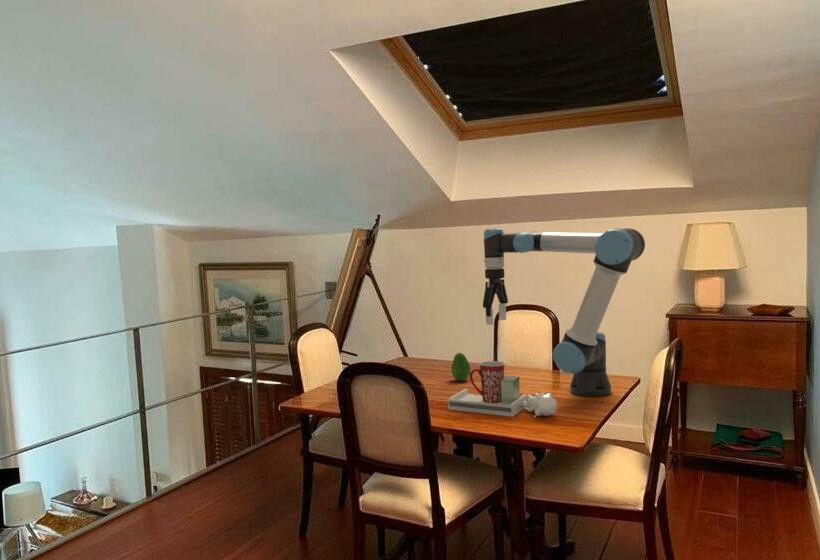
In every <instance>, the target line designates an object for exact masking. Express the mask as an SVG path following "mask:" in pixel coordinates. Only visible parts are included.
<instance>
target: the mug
mask: <svg viewBox="0 0 820 560" xmlns="http://www.w3.org/2000/svg"><path fill="white" fill-rule="evenodd" d="M505 365H506V363H505V362H503V361H495V360H491V361H489V360H488V361H481V362H479V368H480V369H478V368H474V369H470V374H469V381H470V382H471V384H472V386H473V388H474V389H475V390H476V391H477V392H478V394H479V395H482V396H483V401H484V402H487V403H500V402H502V394H501V379H503V378H504V377H505ZM475 372H476V373H477V372H478V375H479V376H480V381H481V382H480V383H481V390H480V388H478V386H477V385H476V384H475V382H474V379H473V374H474V373H475Z"/></svg>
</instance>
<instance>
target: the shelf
mask: <svg viewBox="0 0 820 560" xmlns="http://www.w3.org/2000/svg"><path fill="white" fill-rule="evenodd" d="M527 395H528V394H527V393H524V394H522V395H520V398H518V399H517V400H515V401H514V402H513V403H511V404H510V405H503V404H502V402H500V403H487V402H484V401H483V396H482V395H481V394H472V393H471V394H470V393H469V389H468V388H464V389H462V390H461V391H458V392H457V393H455V394H454V395H451V396H450V397H449V398H448V399H447V400H448V401H447V405H448V410H450V411H451V410H452V411H459V412H466V413H467V412H468V413H469V412H470V413H477V414H485V415H495V416H503V417H512V418H513V417H515V416H516V415H517V414H519V412H520V411H522V410H523V409H525V408H524V407H523V406H522V402H523V401H526V402H528V401H527V399H526V397H527Z"/></svg>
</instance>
